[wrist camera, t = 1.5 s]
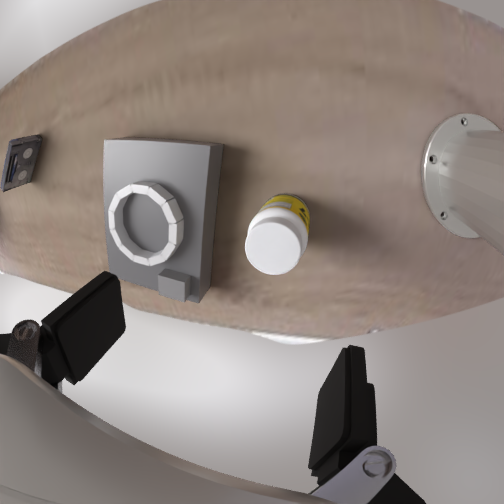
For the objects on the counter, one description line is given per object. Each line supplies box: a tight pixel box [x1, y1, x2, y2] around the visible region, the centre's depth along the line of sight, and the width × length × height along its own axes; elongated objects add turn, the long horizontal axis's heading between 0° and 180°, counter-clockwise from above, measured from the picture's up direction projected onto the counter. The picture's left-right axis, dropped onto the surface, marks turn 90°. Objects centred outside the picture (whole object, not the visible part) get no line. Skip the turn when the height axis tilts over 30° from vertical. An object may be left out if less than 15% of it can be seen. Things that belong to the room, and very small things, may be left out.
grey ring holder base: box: [103, 137, 224, 303], centre depth 27 cm, size 12×16×5 cm
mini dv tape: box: [1, 135, 42, 192], centre depth 29 cm, size 8×2×6 cm, turn 141°
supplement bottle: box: [245, 194, 310, 275], centre depth 23 cm, size 5×5×8 cm
